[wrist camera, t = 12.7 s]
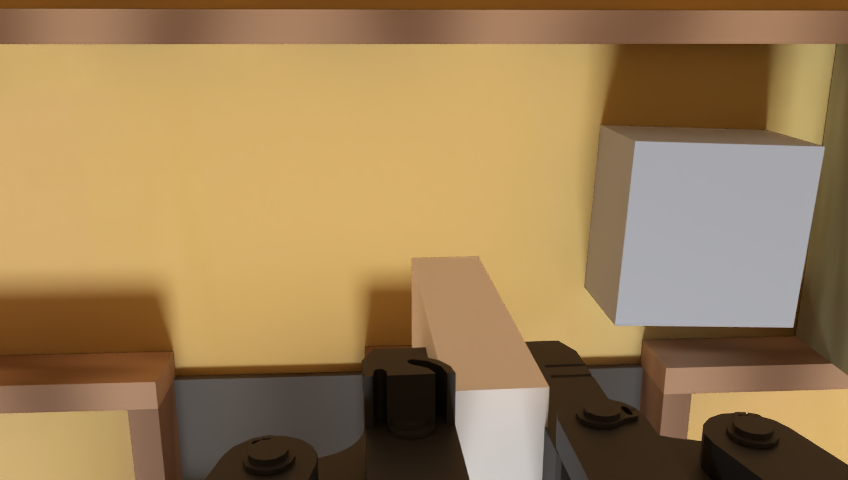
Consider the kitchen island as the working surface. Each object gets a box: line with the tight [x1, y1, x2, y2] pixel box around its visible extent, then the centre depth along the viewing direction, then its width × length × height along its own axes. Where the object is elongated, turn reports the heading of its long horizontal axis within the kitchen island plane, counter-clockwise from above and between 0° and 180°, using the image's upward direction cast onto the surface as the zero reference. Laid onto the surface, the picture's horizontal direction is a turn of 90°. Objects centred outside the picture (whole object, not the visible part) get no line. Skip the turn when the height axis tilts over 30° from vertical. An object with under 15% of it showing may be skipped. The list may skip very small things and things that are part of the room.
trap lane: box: [0, 9, 848, 480], centre depth 27 cm, size 33×20×4 cm, turn 90°
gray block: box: [584, 125, 825, 328], centre depth 27 cm, size 6×6×4 cm
